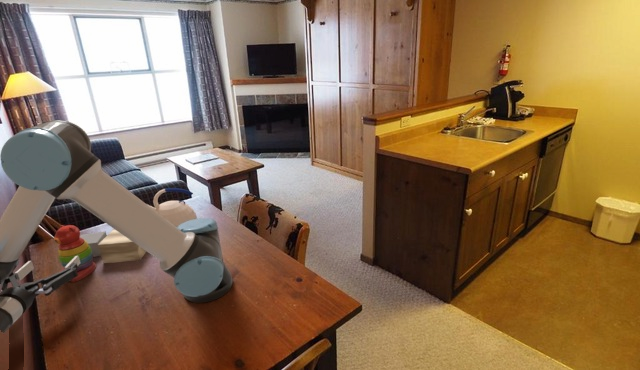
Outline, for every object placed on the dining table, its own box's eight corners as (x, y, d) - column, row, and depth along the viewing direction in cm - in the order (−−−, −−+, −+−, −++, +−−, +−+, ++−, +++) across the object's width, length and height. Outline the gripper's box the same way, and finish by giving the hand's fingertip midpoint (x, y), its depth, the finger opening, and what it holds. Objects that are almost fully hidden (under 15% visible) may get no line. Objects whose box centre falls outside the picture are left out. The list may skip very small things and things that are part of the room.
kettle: (148, 223, 155) (139, 186, 148) (196, 213, 163) (189, 177, 156) (148, 242, 138) (137, 202, 131) (201, 230, 145) (193, 191, 139)
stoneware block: (101, 256, 130) (96, 242, 127) (75, 259, 128) (70, 246, 126) (109, 244, 138) (105, 231, 136) (85, 247, 136) (80, 234, 134)
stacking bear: (56, 275, 118) (39, 230, 112) (86, 260, 127) (71, 217, 120) (73, 283, 113) (56, 236, 107) (103, 267, 122) (89, 223, 115)
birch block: (140, 260, 125) (135, 241, 123) (103, 263, 124) (97, 244, 122) (153, 242, 138) (148, 225, 135) (119, 245, 137) (114, 227, 134)
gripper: (-41, 325, 87) (15, 276, 107) (64, 312, 91) (100, 267, 110) (-53, 301, 85) (7, 256, 104) (55, 289, 88) (93, 247, 108)
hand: (55, 261), depth 107 cm, fingers open, 13 cm apart
